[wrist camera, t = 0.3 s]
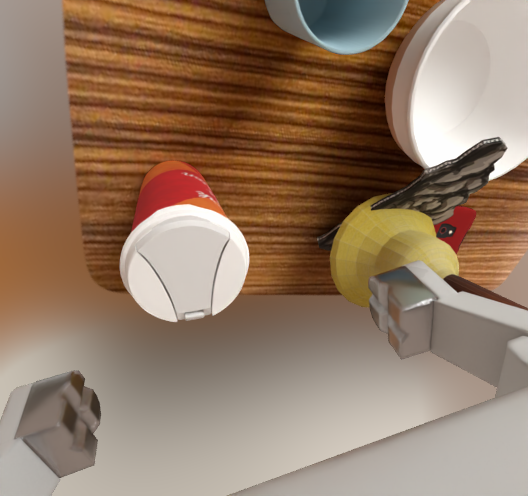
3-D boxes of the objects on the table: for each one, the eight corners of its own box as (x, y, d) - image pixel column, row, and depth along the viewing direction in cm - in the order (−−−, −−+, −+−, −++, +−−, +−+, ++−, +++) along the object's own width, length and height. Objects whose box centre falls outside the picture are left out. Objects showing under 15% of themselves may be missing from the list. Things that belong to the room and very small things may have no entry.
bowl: (538, 30, 38) (622, 30, 31) (448, 179, 44) (502, 206, 37) (419, -57, 31) (493, -80, 25) (333, 131, 37) (373, 154, 31)
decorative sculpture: (303, 239, 42) (359, 256, 48) (304, 243, 41) (359, 260, 48) (492, 130, 29) (535, 173, 35) (495, 135, 28) (537, 178, 35)
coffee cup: (220, 224, 39) (255, 316, 27) (137, 235, 37) (132, 339, 25) (214, 141, 35) (251, 205, 22) (119, 150, 33) (103, 224, 21)
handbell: (452, 212, 40) (853, 319, 18) (407, 317, 43) (709, 532, 20) (357, 177, 36) (724, 259, 13) (312, 295, 38) (559, 540, 16)
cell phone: (428, 309, 52) (424, 304, 53) (480, 211, 46) (475, 208, 47) (381, 306, 50) (377, 302, 51) (429, 202, 44) (424, 199, 44)
